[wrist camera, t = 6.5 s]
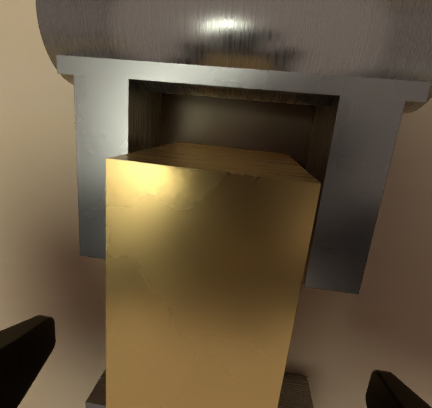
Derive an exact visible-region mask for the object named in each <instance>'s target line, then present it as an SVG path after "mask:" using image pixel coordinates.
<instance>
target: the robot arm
mask: <svg viewBox="0 0 432 408" xmlns="http://www.w3.org/2000/svg"><path fill="white" fill-rule="evenodd" d="M55 342H56V338H55V322H54V319H53V318H52V317H48V316H42V315H39V316H36V317H33V318H31V319H28V320H26V321H23V322H21V323H19V324H16V325H14V326H11V327H9V328H7V329H4V330H2V331H0V408H17V407H18V405H19V404H20V402H21V401H22V399H23V398H24V396H25V395H26V393H27V391H28V390H29V388H30V387H31V385H32V383H33V382H34V380H35V378H36V377H37V375H38V373H39V372H40V370H41V369H42V367H43V365H44V364H45V362H46V360H47V359H48V357H49V355H50V354H51V352H52V350H53V349H54V346H55ZM366 405H367V408H432V407H430V406H429V405H428V404H427V403H426V402H425V401H423V400H422V399H421V398H420V397H419V396H418V395H417V394H415V393H414V392H413V391H412V390H411V389H410V388H409V387H407V386H406V385H405V384H404V383H403V382H402V381H400V380H399V379H398V378H397V377H396V376H395V375H394V374H392V373H391V372H388V371H382V370H374V371H373V372H372V374H371V377H370V381H369V384H368V388H367V392H366Z"/></svg>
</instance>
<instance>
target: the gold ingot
mask: <svg viewBox="0 0 432 408" xmlns="http://www.w3.org/2000/svg"><path fill="white" fill-rule="evenodd" d="M320 187H321V183H320V182H319V181H318V180H316V179H315V178H314V177H313V176H312V175H311V174H309V173H308V172H307V171H306V170H305V169H304V168H303V167H301V166H300V165H299V164H298V163H297V162H296V161H295V160H293V159H292V158H291V157H290V156H289V155H288V154H283V153H274V152H265V151H255V150H246V149H237V148H228V147H219V146H210V145H201V144H192V143H182V142H177V143H172V144H168V145H163V146H159V147H155V148H150V149H146V150H141V151H137V152H132V153H128V154H123V155H119V156H114V157H110V158H106V408H277V407H278V402H279V397H280V391H281V386H282V381H283V376H284V371H285V366H286V361H287V356H288V351H289V346H290V340H291V335H292V330H293V325H294V320H295V315H296V310H297V305H298V300H299V295H300V289H301V284H302V279H303V274H304V269H305V264H306V259H307V254H308V249H309V243H310V238H311V233H312V228H313V223H314V218H315V213H316V208H317V203H318V198H319V192H320Z"/></svg>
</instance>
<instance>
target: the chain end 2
mask: <svg viewBox="0 0 432 408" xmlns="http://www.w3.org/2000/svg"><path fill="white" fill-rule="evenodd" d="M85 403H86V408H106V369H105V371H104V373H103V374H102V376H101V377H100V379H99V381H98V382H97V384H96V386H95V387H94V389H93V391H92V392H91V394H90V396H89V397H88V399H87V400H86V402H85ZM277 408H313V404H312V399H311V394H310V390H309V385H308V380H307V377H305V376H299V375H293V374H287V373H284V376H283V381H282V386H281V391H280V397H279V402H278V407H277Z"/></svg>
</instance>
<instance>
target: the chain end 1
mask: <svg viewBox="0 0 432 408" xmlns="http://www.w3.org/2000/svg"><path fill="white" fill-rule="evenodd" d="M36 11H37V19H38V24H39V29H40V33H41V37H42V40H43V43H44V46H45V48H46V51H47V53H48V55H49V57H50V59H51V61H52V63H53V65H54V66H55V68H56V69H57V73H58V74H61V75H62V77H63V78H64V79H66V80H67V81H68V82H70V83H71V84H73V85H74V96H75V124H76V152H77V180H78V208H79V236H80V255H81V256H88V257H95V258H103V259H106V158H110V157H114V156H119V155H123V154H128V153H132V152H137V151H141V150H146V149H150V148H155V147H159V146H160V124H161V97H162V93H170V94H182V95H194V96H206V97H218V98H230V99H242V100H254V101H266V102H279V103H291V104H303V105H315V106H316V108H315V114H314V119H313V125H312V131H311V137H310V143H309V149H308V155H307V161H306V167H305V170H306V171H307V172H308V173H309V174H311V175H312V176H313V177H314V178H315V179H316V180H318V181H319V182H320V183H321V187H320V192H319V198H318V203H317V208H316V213H315V218H314V223H313V228H312V233H311V238H310V243H309V249H308V254H307V259H306V264H305V269H304V274H303V279H302V281H303V284H304V287H310V288H317V289H324V290H331V291H338V292H346V293H353V294H359V290H360V286H361V282H362V278H363V274H364V269H365V265H366V261H367V257H368V253H369V249H370V245H371V241H372V236H373V232H374V228H375V224H376V220H377V216H378V212H379V208H380V203H381V199H382V195H383V191H384V187H385V183H386V179H387V175H388V170H389V166H390V162H391V158H392V154H393V150H394V146H395V142H396V137H397V133H398V129H399V125H400V121H401V117H402V113H411V112H413V111H416V110H417V109H419V108H420V107H422V106H423V105H424V104H425V103H426V102H427V101H428V100H429V99H430V98H431V97H432V0H36Z"/></svg>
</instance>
